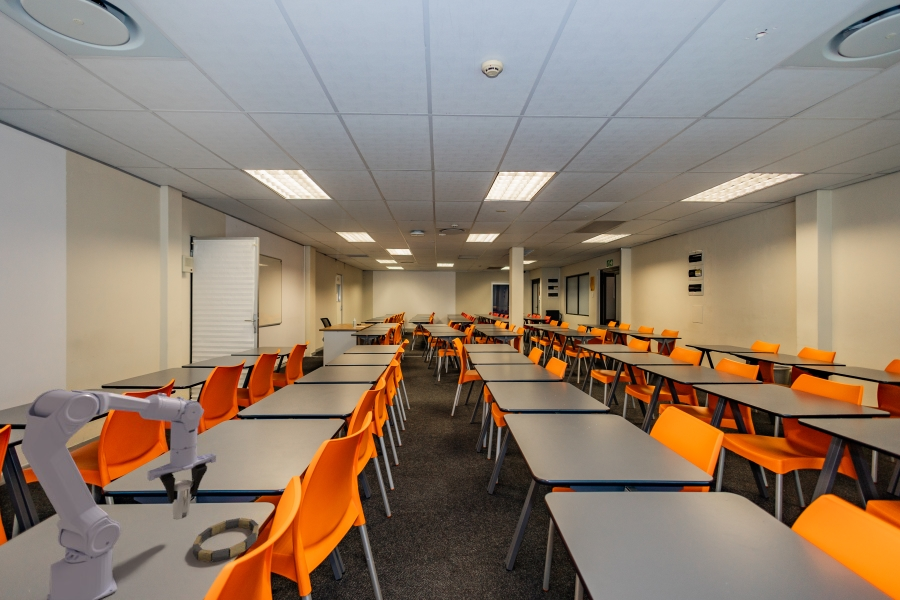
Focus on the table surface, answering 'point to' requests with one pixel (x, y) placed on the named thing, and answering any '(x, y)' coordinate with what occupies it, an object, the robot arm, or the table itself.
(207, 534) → the ring
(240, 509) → the table surface
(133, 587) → the table surface
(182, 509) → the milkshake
